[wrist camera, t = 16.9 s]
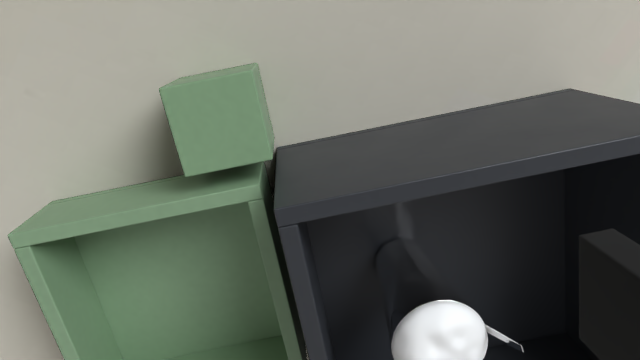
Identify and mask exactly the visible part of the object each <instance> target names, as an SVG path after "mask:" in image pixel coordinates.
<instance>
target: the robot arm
mask: <svg viewBox="0 0 640 360" xmlns="http://www.w3.org/2000/svg"><path fill="white" fill-rule="evenodd" d="M579 339H580V340H581V341H582V342H583V343H584V344H585V345H586V346H587V347H588V348H589V349H590V350H591V351H592V352H593V353H594V354H595V355H596V356H597V358H598V359H599V360H640V245H639V244H637V243H636V242H634V241H633V240H631V239H629V238H628V237H626V236H624V235H623V234H621V233H620V232H618V231H616V230H615V229H613V228H612V229H607V230H602V231H598V232H593V233H588V234H583V235H579Z"/></svg>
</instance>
